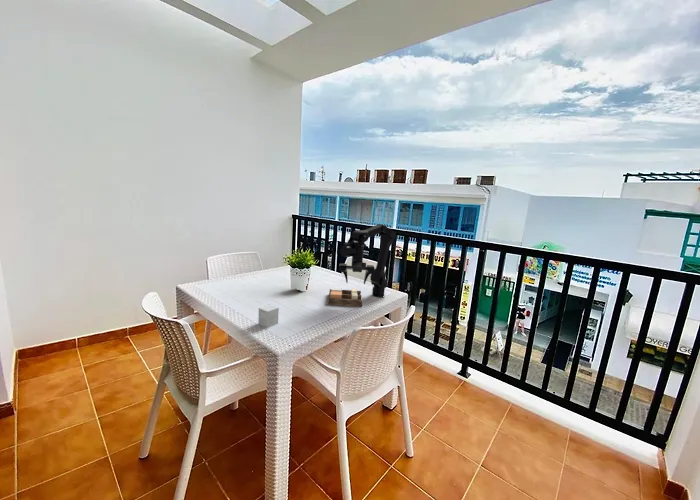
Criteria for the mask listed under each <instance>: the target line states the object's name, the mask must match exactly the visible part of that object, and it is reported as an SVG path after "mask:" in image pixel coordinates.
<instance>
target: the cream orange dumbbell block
mask: <svg viewBox="0 0 700 500" xmlns="http://www.w3.org/2000/svg"><path fill="white" fill-rule="evenodd" d="M330 298H339V299H342V292H335V291H331V294H330ZM351 299H355V300H357V299H358V294H357V293H354V292H352V298H351Z"/></svg>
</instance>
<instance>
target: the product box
mask: <svg viewBox="0 0 700 500" xmlns="http://www.w3.org/2000/svg"><path fill="white" fill-rule="evenodd" d="M279 309H280V308H279V307H277V306H275V305H272V304H271V303H270V304H266V305H263V306H260V307H258V318H257V319H258V325H261V326H263V327H265V328H267V329H268V328H271V327H273V326H275V325H277V324H279V314H280V312H279Z"/></svg>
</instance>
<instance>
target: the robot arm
mask: <svg viewBox="0 0 700 500" xmlns="http://www.w3.org/2000/svg"><path fill="white" fill-rule="evenodd" d="M376 235H379V236H380V240H379V241H380V244H381V246H380V250H379V254H378V258H377V262H376V267H375V265H371V264H370V265H369V264H367V262H364V249H365V248H364V247H367V244H366V243H365V242H368V241H369V239H370V238H372V237H375V236H376ZM396 238H397V237H396V232H395V231H394V230H392V229H391V228H389V227H388V226H387V225H385V224H380V223H378V224H376V225H374V226H371V227H369V228H366V229H364V230H363V229H362V230H354V231H353V232H352V233H351V235H350V237H349V238H348V240H347V242H344V243H343V245H342V246H341V247H340V250H339V251H340V255H341V256H342V257H344V258H347V257H351V265H347V263H343V262H342V263H339V266H338V271H339V272H341V273H343V276H344V277H345V282H346V283H348V280H349V279H348V270H352V273H362V272H363V271H365V272H364V278H363V285H365V284H366V282H367V280H368V277H369V276H370V283H371V285H372V290H371V291H372V292H371V294H372V296H374V297H373V298H384V297H385V291H386V290H385V289H386V288H387V287H388V285H389V283H388V281H387V280H386V279H387V278H386V276H387V275H386V271H385V268H386V265H387V260H388V256H389V251H390V248H391V246H392V245H393V243H395V239H396ZM383 296H384V297H383Z"/></svg>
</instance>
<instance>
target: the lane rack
mask: <svg viewBox="0 0 700 500" xmlns="http://www.w3.org/2000/svg"><path fill="white" fill-rule="evenodd" d="M351 290H352V289H342V299H339V298H330V294H331V288H330V289H329V293H328V297H327V305H330V306H350V307H363V299H362V293H361V292H362V291H361V290H357V294H358V299H357V300H355V299H351V298H352V295H351Z"/></svg>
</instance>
